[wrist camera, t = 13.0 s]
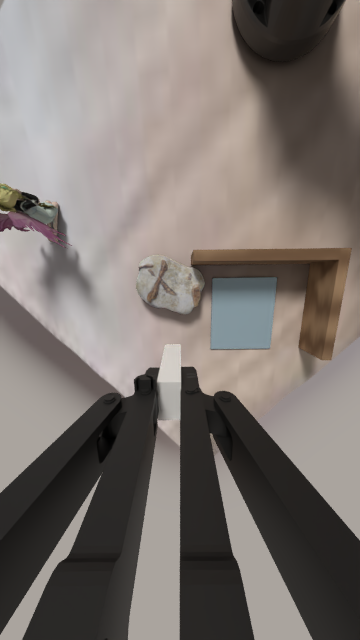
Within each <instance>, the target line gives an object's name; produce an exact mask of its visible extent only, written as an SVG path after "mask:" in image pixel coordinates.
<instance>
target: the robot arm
mask: <svg viewBox="0 0 360 640" xmlns="http://www.w3.org/2000/svg"><path fill="white" fill-rule="evenodd" d="M345 1H346V0H232V5H233V12H234V16H235V20H236V23H237V26H238V29H239V31H240V33H241V35H242V37H243V38H244V40H245V41H246V43H247V44H248V45H249V47H250V48H251V49H252V50H254V51H255V52H256V53H257V54H259V55H260V56H262V57H264V58H266V59H269V60H273V61H289V60H293V59H296V58H299V57H301V56H303V55H305V54H306V53H308V52H309V51H310V50H312V49H313V48H314V47H315V46H316V45H317V44H318V43H319V42H320V41H321V40H322V39H323V37H324V36H325V35H326V33H327V32H328V30H329V29H330V27H331V25H332V23H333V22H334V20H335V18H336V17H337V15H338V13H339V12H340V10H341V8H342V7H343V5H344V3H345ZM134 386H135V393H134V395H132V396H130V397H126V398H121V395H120V394H118V393H109V394H106V395H104V396H102V397H101V398H100V399H99V400H97V402H95V403H94V404H93V405H92V406H91V407H90V408H89V409H88V410H87V411H86V412H85V413H84V414H83V415H82V416H81V417H80V418H79V419H78V420H77V421H76V422H74V423H73V424H72V425H71V426H70V427H69V428H68V429H67V430H66V431H65V432H64V433H63V434H62V435H61V436H60V437H59V438H58V439H57V440H56V441H55V442H54V443H52V444H51V445H50V446H49V447H48V448H47V449H46V450H45V451H44V452H43V453H42V454H41V455H40V456H39V457H38V458H37V459H36V460H35V461H34V462H33V463H31V465H29V466H28V467H27V468H26V469H25V470H24V471H23V472H22V473H21V474H20V475H19V476H18V477H17V478H16V479H15V480H14V481H13V482H12V483H11V484H9V486H7V487H6V488H5V489H4V490H3V491H2V492H1V493H0V634H1V633H2V631H3V629H4V628H5V626H6V625H7V623H8V621H9V620H10V618H11V617H12V615H13V614H14V612H15V610H16V608H17V607H18V606H19V604H20V602H21V601H22V599H23V598H24V596H25V595H26V593H27V591H28V590H29V588H30V587H31V585H32V583H33V582H34V580H35V578H36V577H37V575H38V574H39V572H40V571H41V569H42V567H43V566H44V564H45V563H46V561H47V560H48V558H49V556H50V555H51V553H52V552H53V550H54V548H55V547H56V545H57V544H58V542H59V541H60V539H61V537H62V536H63V534H64V533H65V531H66V529H67V528H68V526H69V525H70V523H71V521H72V520H73V518H74V517H75V515H76V514H77V512H78V510H79V509H80V507H81V506H82V504H83V502H84V501H85V499H86V497H87V496H88V494H89V493H90V491H91V490H92V488H93V487H94V485H95V483H96V482H97V480H98V478H99V477H100V475H101V474H102V475H101V478H100V480H99V482H98V485H97V487H96V490H95V492H94V495H93V497H92V500H91V503H90V505H89V507H88V510H87V512H86V515H85V517H84V520H83V522H82V525H81V527H80V530H79V533H78V535H77V537H76V540H75V542H74V545H73V547H72V549H71V552H70V554H69V555H68V557H67V558H66V559H64V560H63V561H61V562H60V563H59V564H58V565H57V567H56V568H55V570H54V571H53V573H52V575H51V577H50V579H49V581H48V583H47V585H46V587H45V589H44V591H43V594H42V596H41V598H40V601H39V603H38V605H37V607H36V610H35V612H34V614H33V617H32V619H31V621H30V623H29V626H28V628H27V630H26V633H25V635H24V637H23V640H128V624H129V615H130V608H131V601H132V595H133V588H134V581H135V575H136V568H137V561H138V555H139V548H140V541H141V535H142V527H143V521H144V515H145V507H146V501H147V495H148V488H149V480H150V474H151V468H152V461H153V454H154V447H155V441H156V434H157V428H158V424H157V419H158V420H180V640H254V635H253V630H252V626H251V621H250V616H249V611H248V607H247V602H246V597H245V592H244V587H243V582H242V578H241V573H240V569H239V566H238V563H237V561H236V559H235V558H234V556H233V553H232V549H231V544H230V539H229V534H228V528H227V523H226V518H225V513H224V507H223V502H222V497H221V491H220V486H219V481H218V475H217V470H216V465H215V461H214V454H213V449H212V444H211V439H210V433H211V434H213V438H214V440H215V442H216V444H217V446H218V448H219V450H220V452H221V454H222V456H223V458H224V460H225V462H226V464H227V466H228V468H229V470H230V472H231V474H232V476H233V478H234V480H235V482H236V484H237V486H238V488H239V491H240V492H241V494H242V496H243V499H244V501H245V503H246V505H247V507H248V509H249V511H250V513H251V515H252V517H253V519H254V521H255V523H256V525H257V527H258V529H259V531H260V533H261V535H262V537H263V539H264V541H265V543H266V545H267V547H268V549H269V552H270V553H271V556H272V558H273V560H274V562H275V564H276V566H277V568H278V570H279V572H280V574H281V576H282V578H283V580H284V582H285V584H286V586H287V588H288V590H289V592H290V594H291V596H292V598H293V600H294V602H295V604H296V606H297V608H298V610H299V612H300V615H301V617H302V619H303V621H304V623H305V625H306V627H307V629H308V631H309V633H310V635H311V637H312V639H313V640H360V540H359V539H358V538H357V537H356V536H355V534H354V533H353V532H352V531H351V530H350V529H349V528H348V526H347V525H346V524H345V523H344V522H343V521H342V519H340V517H339V516H338V515H337V514H336V513H335V511H334V510H333V509H332V508H331V507H330V505H329V504H328V503H327V502H326V501H325V500H324V498H323V497H322V496H321V495H320V494H319V493H318V492H317V490H316V489H315V488H314V487H313V486H312V485H311V483H310V482H309V481H308V480H307V479H306V478H305V476H304V475H303V474H302V473H301V472H300V471H299V469H298V468H297V467H296V466H295V465H294V464H293V462H292V461H291V460H290V459H289V458H288V457H287V455H286V454H285V453H284V452H283V451H282V450H281V449H280V447H279V446H278V445H277V444H276V443H275V442H274V440H273V439H272V438H271V437H270V436H269V435H268V434H267V432H266V431H265V430H264V429H263V428H262V426H261V425H260V424H259V423H258V422H257V421H256V419H255V418H254V417H253V416H252V415H251V414H250V412H249V411H248V410H247V409H246V408H245V407H244V406H243V404H242V403H241V402H240V401H239V400H238V399H237V397H236V396H235V395H233V394H232V393H230V392H227V391H219V392H216V393H215V394H214V396H209V395H206V394H204V393H203V392H202V391H201V389H200V388H199V383H198V377H197V372H196V369H195V368H194V367H181V344H165V348H164V352H163V357H162V361H161V365H160V368H149V369H148V370H147V371H146V373H145V374H144V375H140V376H138V377H136V378H135V379H134ZM102 472H103V473H102Z"/></svg>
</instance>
